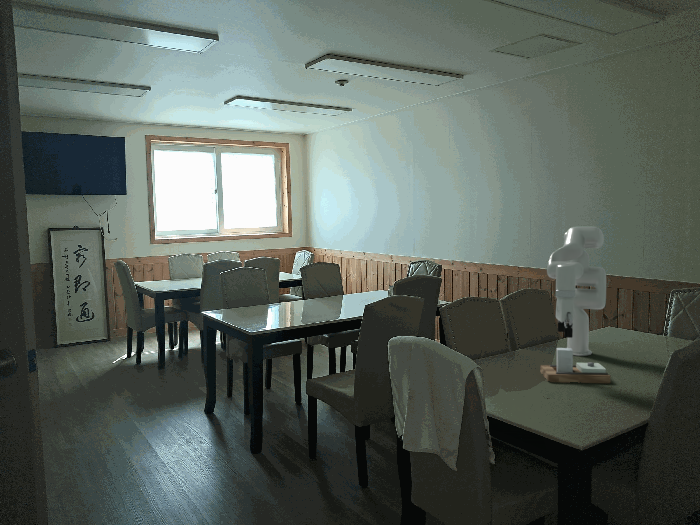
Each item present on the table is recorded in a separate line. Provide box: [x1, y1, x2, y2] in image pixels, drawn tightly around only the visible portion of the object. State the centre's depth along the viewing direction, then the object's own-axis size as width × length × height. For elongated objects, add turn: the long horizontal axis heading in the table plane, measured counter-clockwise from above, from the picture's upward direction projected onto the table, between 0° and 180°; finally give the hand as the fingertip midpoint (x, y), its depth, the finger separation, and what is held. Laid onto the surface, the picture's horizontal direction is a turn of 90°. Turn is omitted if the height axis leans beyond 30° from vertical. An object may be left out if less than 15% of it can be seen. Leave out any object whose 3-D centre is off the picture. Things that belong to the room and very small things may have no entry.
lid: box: [575, 361, 607, 373], centre depth 221 cm, size 9×9×3 cm
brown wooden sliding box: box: [539, 364, 612, 384], centre depth 222 cm, size 14×24×4 cm, turn 83°
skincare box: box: [556, 347, 574, 372], centre depth 222 cm, size 6×4×12 cm
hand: (564, 334), depth 221 cm, fingers open, 9 cm apart
